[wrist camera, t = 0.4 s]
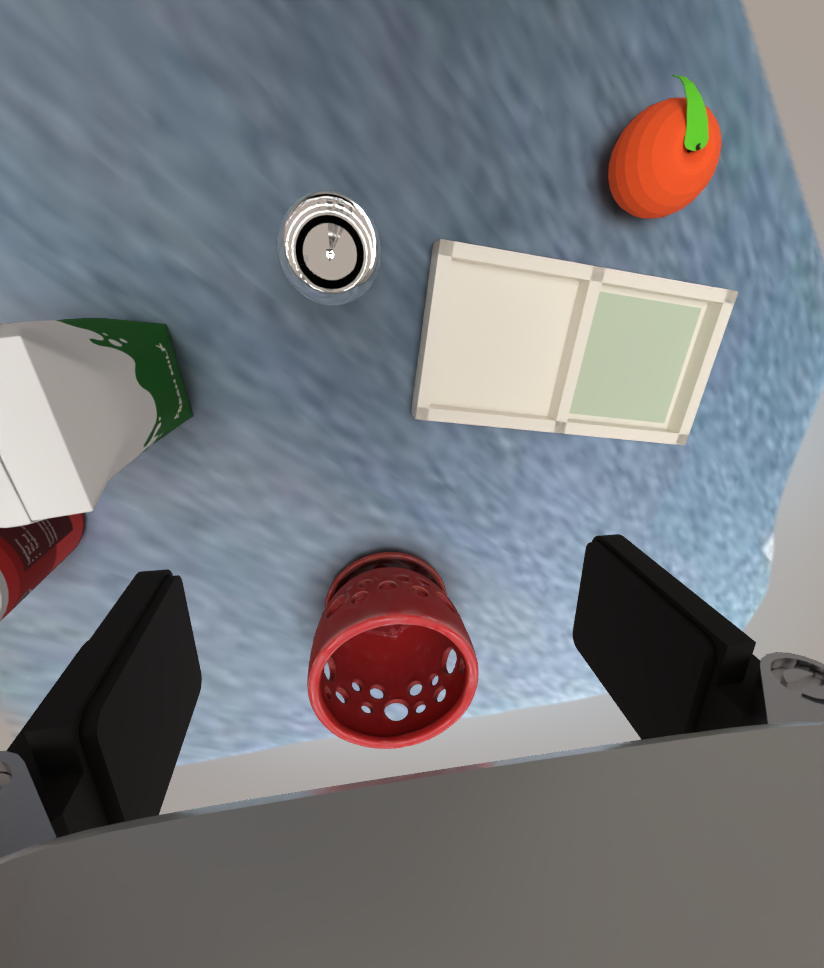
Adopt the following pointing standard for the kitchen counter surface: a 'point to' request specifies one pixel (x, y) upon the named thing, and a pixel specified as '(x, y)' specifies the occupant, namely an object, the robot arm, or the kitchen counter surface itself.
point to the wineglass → (329, 247)
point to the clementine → (665, 156)
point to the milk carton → (80, 409)
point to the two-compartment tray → (564, 346)
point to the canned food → (34, 555)
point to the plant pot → (390, 653)
